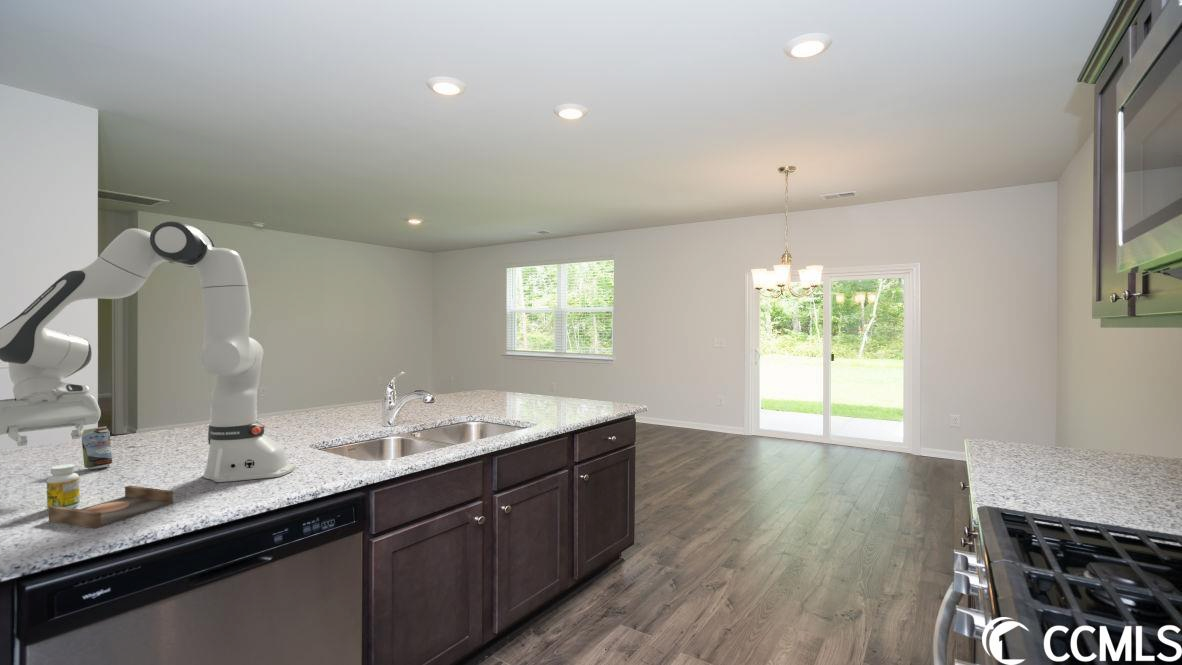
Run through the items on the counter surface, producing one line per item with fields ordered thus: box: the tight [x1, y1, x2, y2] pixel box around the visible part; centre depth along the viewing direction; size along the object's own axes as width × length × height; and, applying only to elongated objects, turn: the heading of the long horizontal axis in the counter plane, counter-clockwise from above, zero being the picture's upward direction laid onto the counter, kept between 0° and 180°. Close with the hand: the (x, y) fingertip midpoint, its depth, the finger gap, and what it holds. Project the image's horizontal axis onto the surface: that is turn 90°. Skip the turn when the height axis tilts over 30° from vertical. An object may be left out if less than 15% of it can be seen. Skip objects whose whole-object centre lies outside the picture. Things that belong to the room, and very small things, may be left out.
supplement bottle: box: [46, 463, 81, 511], centre depth 124 cm, size 5×5×10 cm
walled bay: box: [48, 485, 174, 529], centre depth 122 cm, size 14×16×3 cm
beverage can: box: [81, 426, 113, 470], centre depth 156 cm, size 6×7×12 cm
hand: (50, 440), depth 131 cm, fingers open, 8 cm apart
